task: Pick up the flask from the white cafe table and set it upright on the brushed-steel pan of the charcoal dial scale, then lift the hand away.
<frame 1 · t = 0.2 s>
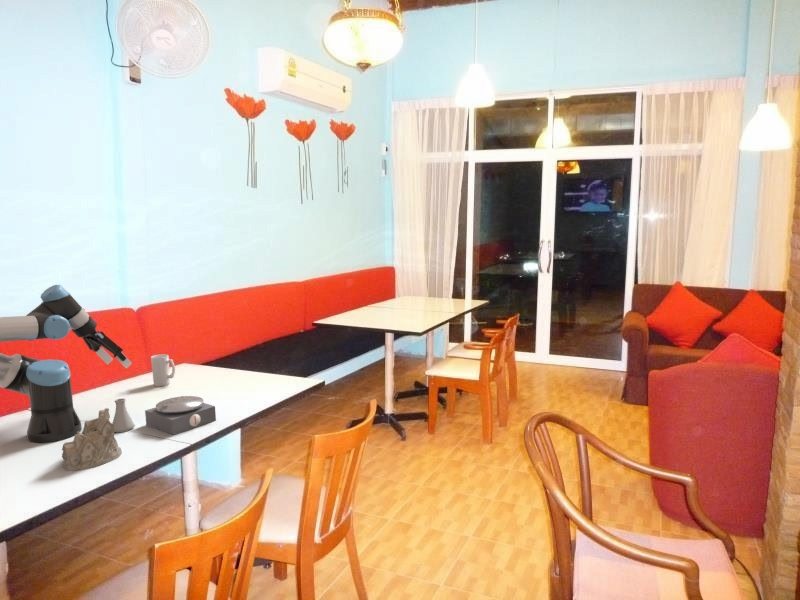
hand: (119, 363, 216), 15 cm above the table, tool tilted 35°, fingers open, 13 cm apart
flask: (122, 429, 191), on the table
mug: (165, 384, 242), on the table
ceramic cottage: (91, 458, 169), on the table
scale pan: (180, 404, 195), point 6 cm above the table, slide at -1.0 cm
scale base: (181, 422, 196), on the table
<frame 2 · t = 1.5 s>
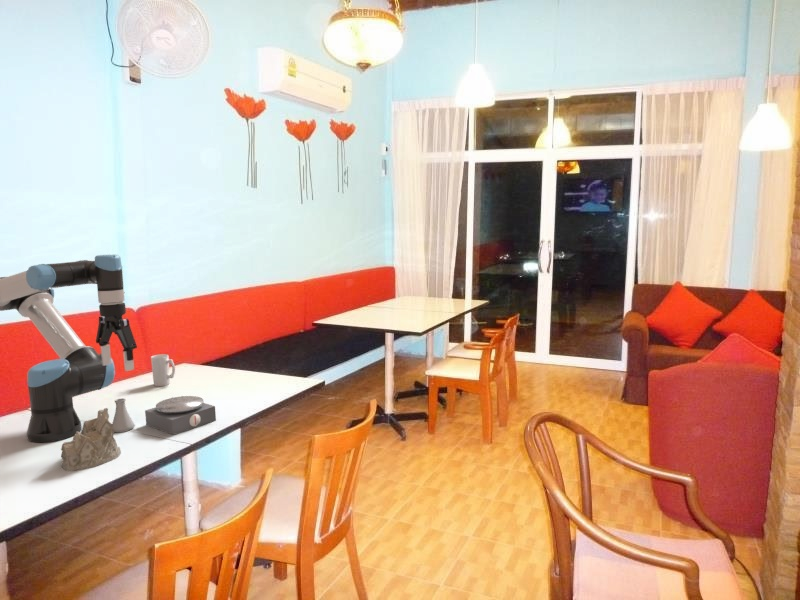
hand: (118, 367, 189), 21 cm above the table, tool pointing down, fingers open, 13 cm apart
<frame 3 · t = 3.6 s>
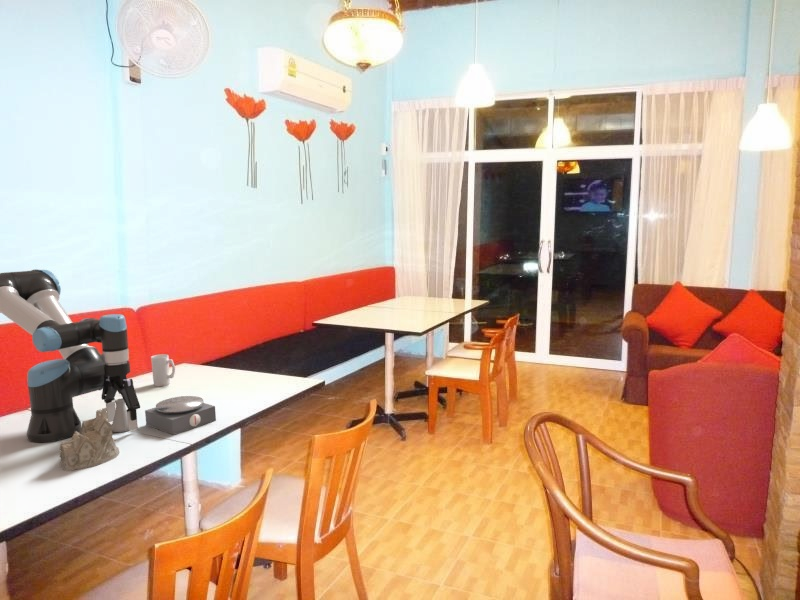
hand: (122, 425, 191), 1 cm above the table, tool pointing down, fingers open, 13 cm apart
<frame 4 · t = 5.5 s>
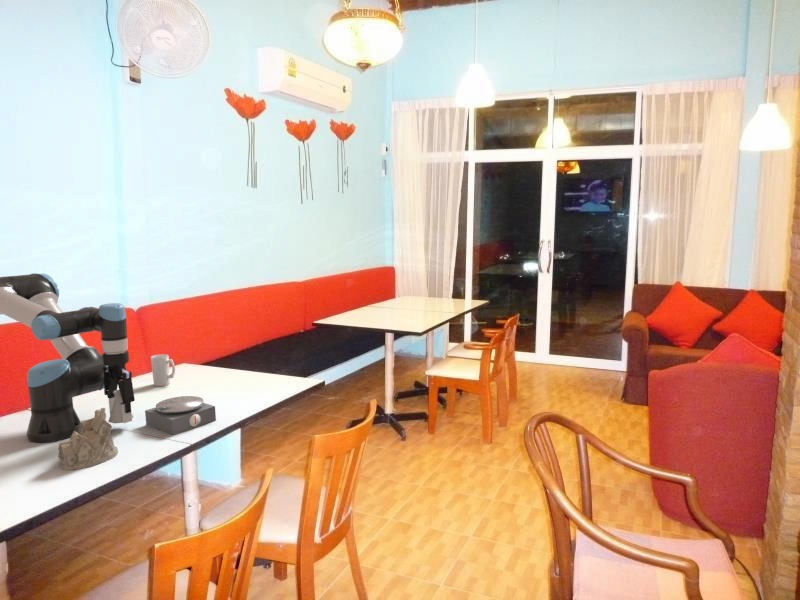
hand: (121, 419, 191), 3 cm above the table, tool pointing down, fingers closed on flask, 7 cm apart
flask: (121, 420, 191), point 3 cm above the table, touching gripper
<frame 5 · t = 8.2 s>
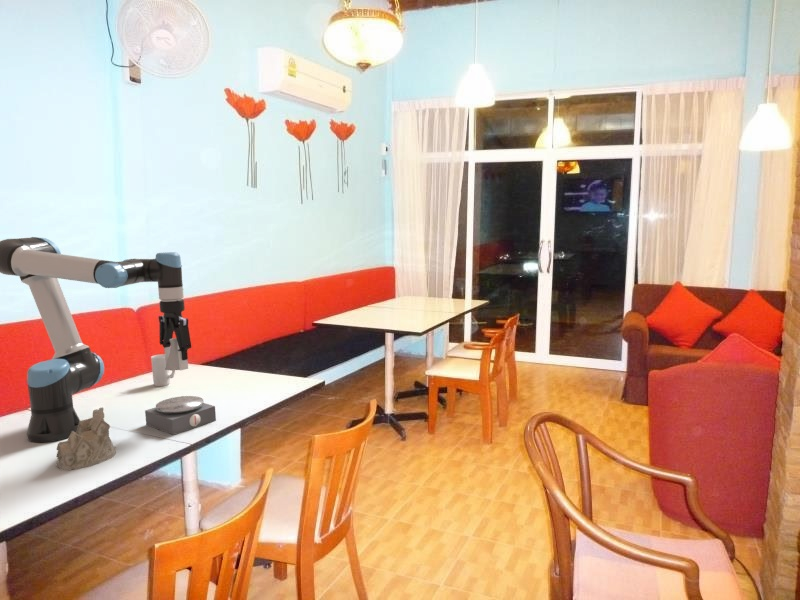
hand: (176, 367, 193), 19 cm above the table, tool pointing down, fingers closed on flask, 7 cm apart
flask: (176, 369, 193), point 19 cm above the table, touching gripper
when the fingers open (9 cm above the table, at t = 10.8 s): flask drops 2 cm, resting on scale pan.
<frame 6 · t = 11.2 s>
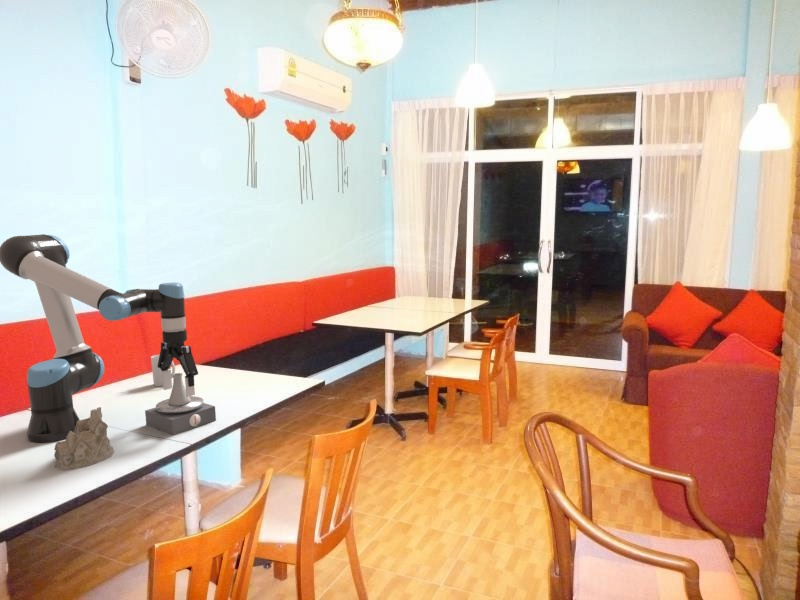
hand: (179, 392, 195), 11 cm above the table, tool pointing down, fingers open, 13 cm apart
flask: (179, 403, 195), point 7 cm above the table, touching scale pan
scale pan: (180, 404, 195), point 6 cm above the table, slide at -1.0 cm, touching flask
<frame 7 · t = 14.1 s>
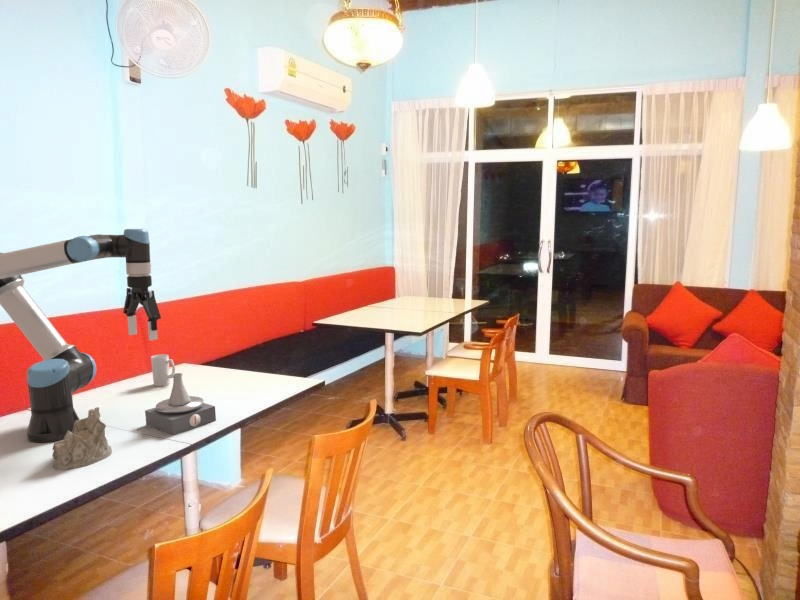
hand: (142, 337, 198), 28 cm above the table, tool pointing down, fingers open, 13 cm apart
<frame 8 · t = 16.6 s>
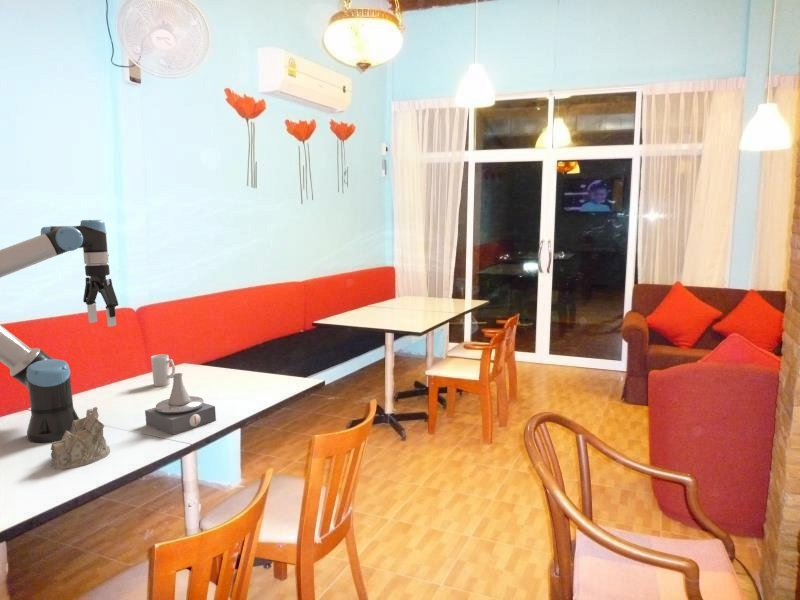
hand: (102, 324, 205), 32 cm above the table, tool pointing down, fingers open, 13 cm apart
at the end: flask inside the target area on the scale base (0.1 cm from its centre), point 6.6 cm above the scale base's base; flask tilted 0°; flask touching scale pan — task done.
